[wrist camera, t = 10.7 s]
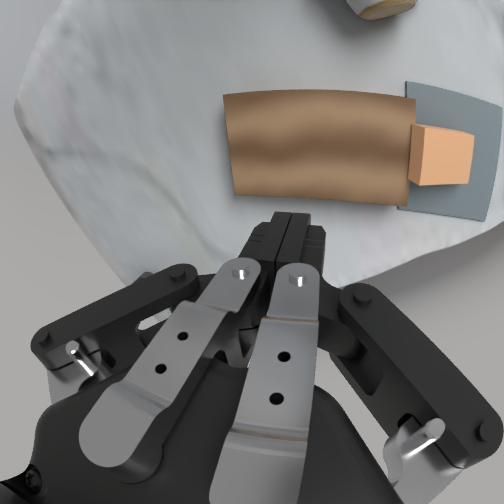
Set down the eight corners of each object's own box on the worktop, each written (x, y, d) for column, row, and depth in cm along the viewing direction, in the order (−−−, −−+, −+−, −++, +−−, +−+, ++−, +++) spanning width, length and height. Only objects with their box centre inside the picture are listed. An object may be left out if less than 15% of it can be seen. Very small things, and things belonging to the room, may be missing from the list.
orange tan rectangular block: (412, 123, 21) (424, 127, 19) (462, 131, 22) (474, 135, 20) (407, 178, 24) (419, 185, 23) (457, 177, 25) (468, 183, 24)
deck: (235, 93, 29) (222, 94, 25) (406, 97, 23) (415, 99, 20) (245, 183, 35) (234, 195, 32) (400, 193, 29) (406, 206, 26)
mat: (406, 81, 22) (406, 81, 22) (501, 107, 18) (502, 107, 18) (398, 208, 31) (398, 209, 30) (484, 220, 27) (484, 221, 26)
